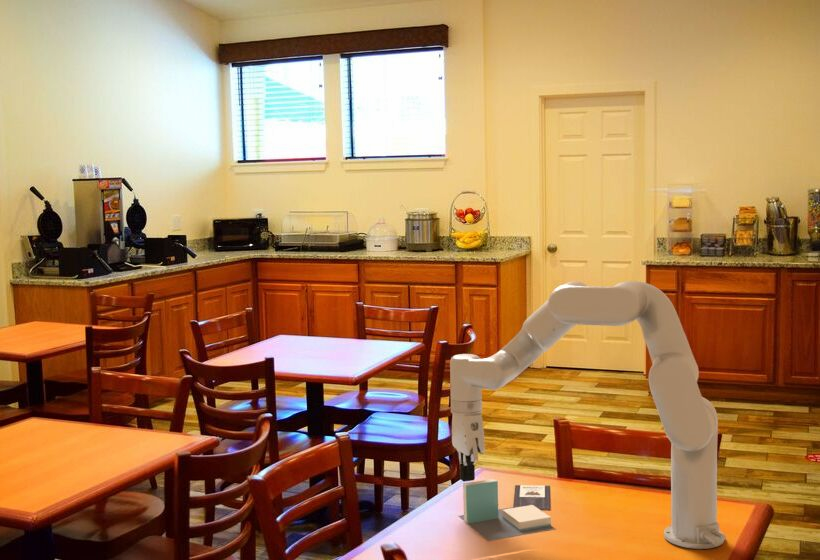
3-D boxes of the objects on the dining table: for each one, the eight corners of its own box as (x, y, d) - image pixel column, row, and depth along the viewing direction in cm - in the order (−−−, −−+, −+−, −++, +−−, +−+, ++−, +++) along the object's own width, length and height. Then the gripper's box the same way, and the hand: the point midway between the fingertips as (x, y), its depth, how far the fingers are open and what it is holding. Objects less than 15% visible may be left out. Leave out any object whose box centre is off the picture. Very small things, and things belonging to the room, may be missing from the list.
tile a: (532, 512, 212) (551, 525, 203) (502, 517, 209) (519, 530, 200) (532, 504, 211) (550, 517, 203) (502, 509, 209) (519, 522, 200)
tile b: (498, 518, 209) (497, 481, 208) (467, 523, 206) (466, 485, 205) (494, 515, 211) (493, 478, 210) (464, 520, 208) (462, 483, 207)
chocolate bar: (513, 509, 214) (515, 485, 232) (513, 512, 215) (515, 488, 232) (550, 509, 213) (549, 485, 231) (550, 513, 213) (550, 489, 231)
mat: (556, 530, 201) (556, 528, 201) (488, 542, 195) (488, 540, 195) (522, 507, 217) (522, 505, 217) (458, 517, 211) (458, 515, 211)
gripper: (493, 411, 207) (494, 487, 209) (468, 397, 221) (469, 469, 223) (464, 414, 204) (465, 491, 206) (440, 400, 218) (441, 473, 220)
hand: (467, 479), depth 214 cm, fingers closed
